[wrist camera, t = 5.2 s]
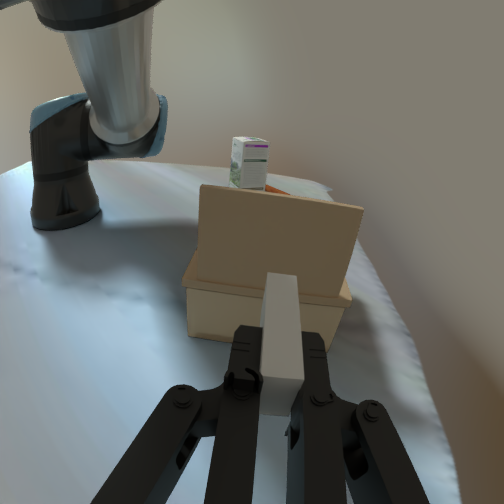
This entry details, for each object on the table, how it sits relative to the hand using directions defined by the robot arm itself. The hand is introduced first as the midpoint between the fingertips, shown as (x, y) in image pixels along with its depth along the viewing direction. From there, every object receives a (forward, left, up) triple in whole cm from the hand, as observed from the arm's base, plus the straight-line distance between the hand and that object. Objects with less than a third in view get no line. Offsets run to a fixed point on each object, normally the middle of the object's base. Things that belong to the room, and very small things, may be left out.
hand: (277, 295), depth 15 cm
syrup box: (-5, +44, -12) cm, 46 cm away
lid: (0, +14, -6) cm, 15 cm away
